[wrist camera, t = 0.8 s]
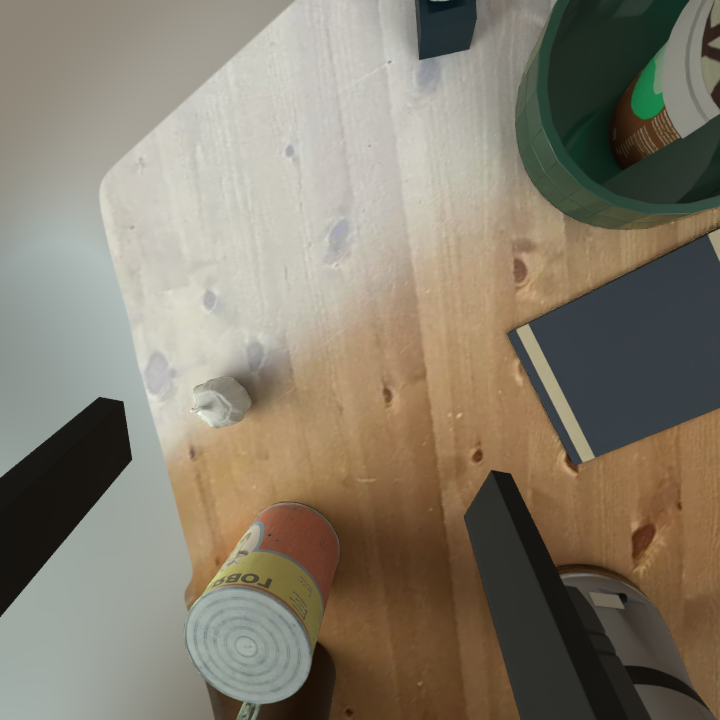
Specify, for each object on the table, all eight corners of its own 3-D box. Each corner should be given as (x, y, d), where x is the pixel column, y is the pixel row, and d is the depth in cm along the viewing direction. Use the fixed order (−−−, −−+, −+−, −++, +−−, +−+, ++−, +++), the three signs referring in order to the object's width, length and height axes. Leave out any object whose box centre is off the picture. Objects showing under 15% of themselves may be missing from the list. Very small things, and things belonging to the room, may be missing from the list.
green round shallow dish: (829, 143, 27) (924, 105, 22) (575, 273, 31) (607, 266, 26) (727, -108, 25) (806, -208, 20) (474, 64, 29) (488, 14, 24)
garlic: (204, 410, 38) (173, 426, 33) (212, 366, 37) (181, 375, 32) (252, 426, 37) (228, 444, 32) (262, 381, 36) (238, 393, 31)
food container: (689, 6, 26) (859, -175, 16) (741, 63, 26) (940, -82, 16) (559, 132, 29) (639, 42, 19) (607, 184, 29) (712, 120, 19)
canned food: (290, 483, 38) (238, 562, 26) (359, 551, 38) (339, 659, 26) (230, 540, 40) (159, 636, 29) (296, 604, 40) (252, 725, 29)
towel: (794, 375, 29) (800, 376, 29) (572, 463, 33) (575, 466, 33) (728, 223, 28) (733, 221, 28) (506, 333, 32) (508, 333, 32)
